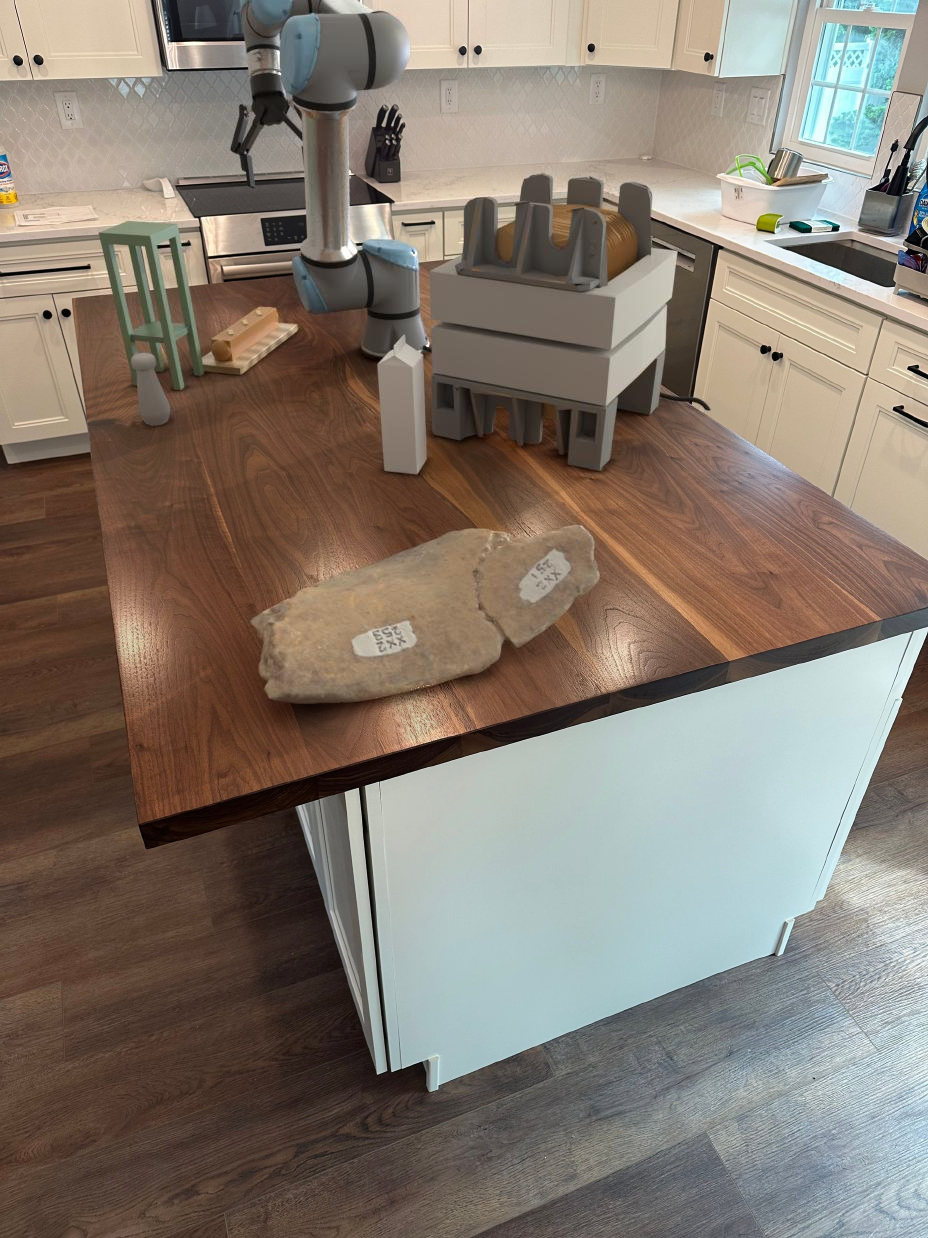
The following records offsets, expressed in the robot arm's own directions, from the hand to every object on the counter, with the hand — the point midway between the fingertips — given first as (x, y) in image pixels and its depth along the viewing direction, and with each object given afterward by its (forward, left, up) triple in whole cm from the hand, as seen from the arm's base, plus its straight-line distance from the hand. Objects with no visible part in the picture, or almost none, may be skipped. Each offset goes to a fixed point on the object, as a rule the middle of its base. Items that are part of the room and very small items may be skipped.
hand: (280, 183), depth 201 cm
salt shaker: (-29, +54, -31) cm, 69 cm away
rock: (-113, +63, -31) cm, 133 cm away
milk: (-77, +33, -31) cm, 89 cm away
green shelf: (-11, +41, -31) cm, 52 cm away
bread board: (-7, +18, -31) cm, 37 cm away
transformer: (-82, +1, -31) cm, 88 cm away
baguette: (-7, +18, -30) cm, 36 cm away
